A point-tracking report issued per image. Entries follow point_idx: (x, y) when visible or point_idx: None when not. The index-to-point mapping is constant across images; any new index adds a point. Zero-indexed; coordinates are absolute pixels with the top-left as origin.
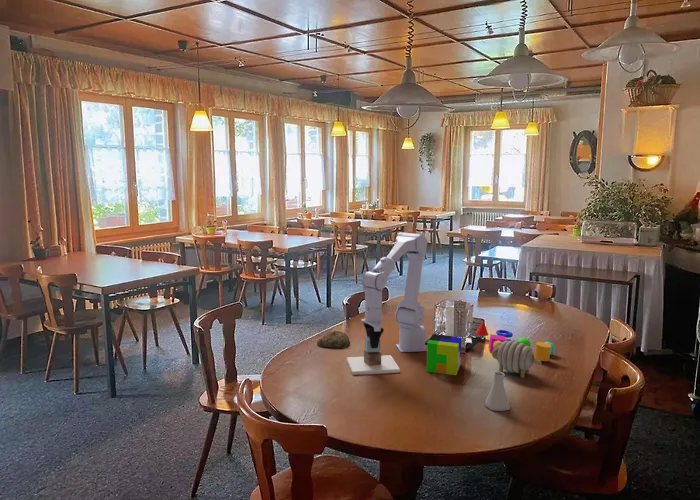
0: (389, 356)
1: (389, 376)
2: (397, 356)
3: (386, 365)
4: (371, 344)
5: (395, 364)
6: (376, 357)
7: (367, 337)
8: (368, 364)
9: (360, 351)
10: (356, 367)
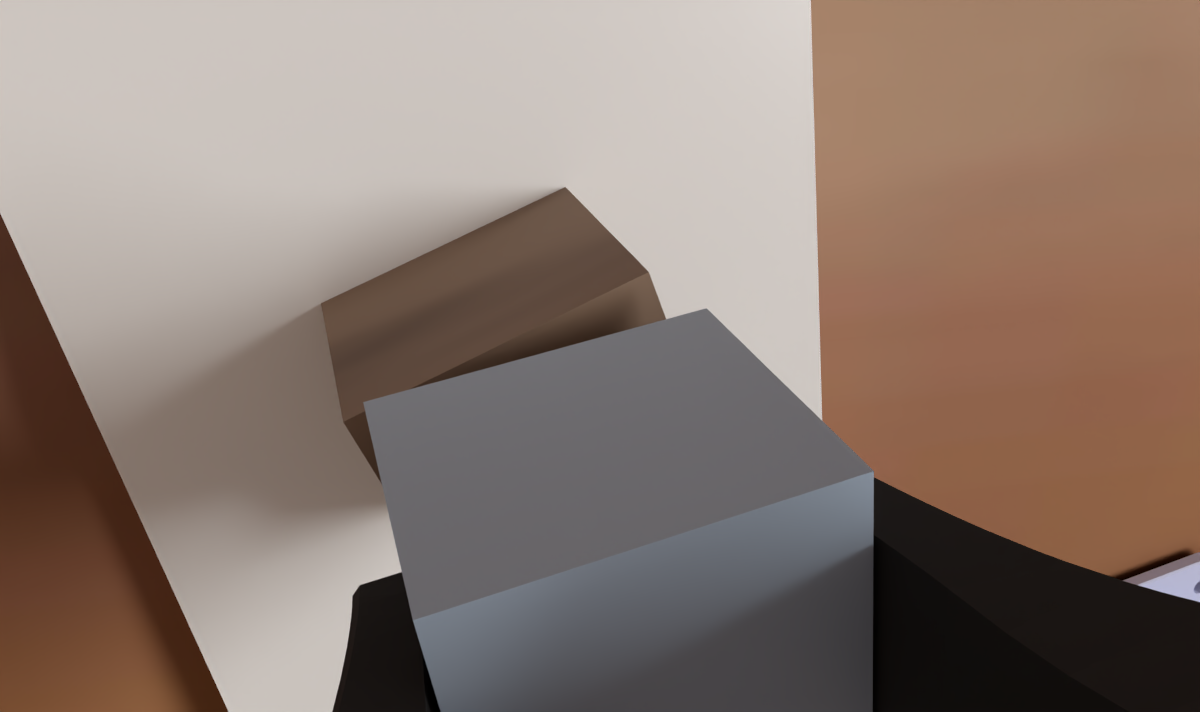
0: None
1: (44, 629)
2: None
3: None
4: (350, 671)
5: None
6: None
7: (773, 562)
8: (350, 299)
9: (1141, 80)
10: (190, 35)
